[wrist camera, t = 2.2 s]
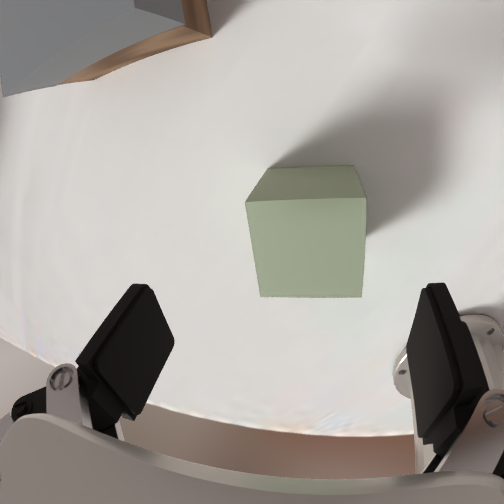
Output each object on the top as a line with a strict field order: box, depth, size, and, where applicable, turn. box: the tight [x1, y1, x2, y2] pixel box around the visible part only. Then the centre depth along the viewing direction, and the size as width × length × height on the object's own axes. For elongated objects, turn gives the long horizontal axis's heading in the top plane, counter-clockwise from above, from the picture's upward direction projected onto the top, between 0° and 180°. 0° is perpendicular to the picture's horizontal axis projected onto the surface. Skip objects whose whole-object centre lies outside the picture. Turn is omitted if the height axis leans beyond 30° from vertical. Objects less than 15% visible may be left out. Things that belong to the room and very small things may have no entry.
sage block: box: [245, 165, 367, 298], centre depth 17 cm, size 6×6×6 cm
